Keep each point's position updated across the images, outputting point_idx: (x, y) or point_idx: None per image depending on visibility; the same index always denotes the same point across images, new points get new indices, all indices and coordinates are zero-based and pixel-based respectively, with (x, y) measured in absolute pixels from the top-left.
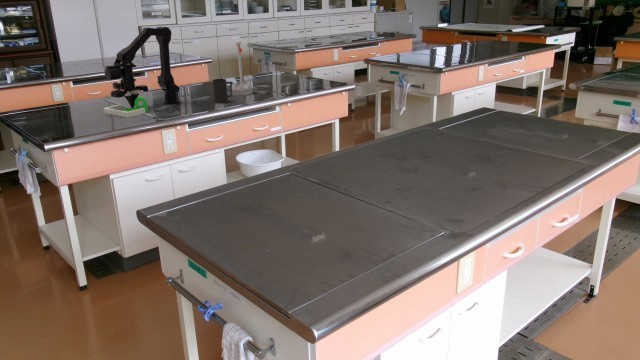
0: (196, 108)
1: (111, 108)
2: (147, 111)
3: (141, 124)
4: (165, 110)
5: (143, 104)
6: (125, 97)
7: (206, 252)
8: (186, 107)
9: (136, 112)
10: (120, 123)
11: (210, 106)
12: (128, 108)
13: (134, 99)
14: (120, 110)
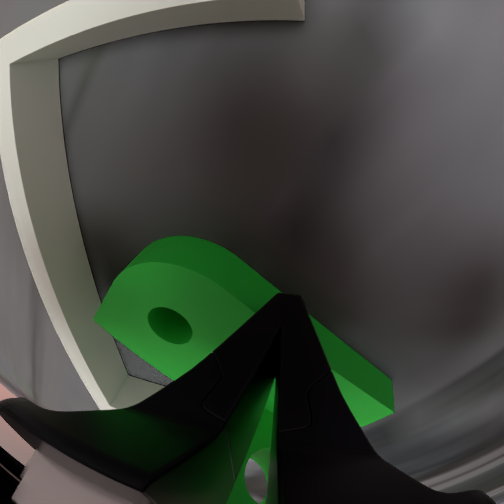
0: (451, 491)
1: (72, 40)
2: None
3: None
4: (399, 457)
5: (267, 482)
6: (119, 419)
7: None
8: (477, 468)
9: None
10: (61, 392)
11: (483, 491)
12: (207, 298)
13: (269, 470)
14: (69, 332)
